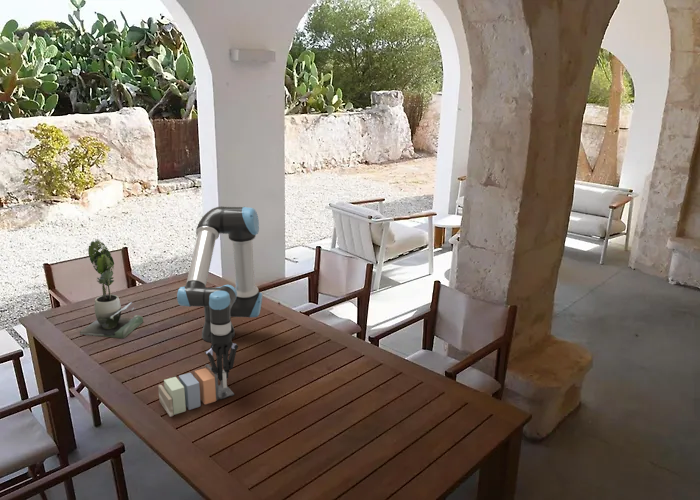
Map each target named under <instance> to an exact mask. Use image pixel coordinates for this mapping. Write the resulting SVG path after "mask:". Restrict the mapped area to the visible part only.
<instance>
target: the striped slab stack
mask: <svg viewBox="0 0 700 500" xmlns="http://www.w3.org/2000/svg"><path fill="white" fill-rule="evenodd" d="M157 387H158V388H157V389H158V398H159V399H158V400H159V403H160V405H161V406H162V407H163V409H164V411H166V413H167V414H168V417H173V416H174V414H173V404H172V398H171V397H170V395H169V394H168V393H167V391H166V390H165V389H164V385H162V384H159V385H157Z"/></svg>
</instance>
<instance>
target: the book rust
mask: <svg viewBox="0 0 700 500" xmlns="http://www.w3.org/2000/svg"><path fill="white" fill-rule="evenodd" d="M194 377H195V378H196V380H197V381H198V382H199V387H200V402H202V403H203V404H204V405H209V404H212V403H214V402H216V401H217V400H216V389H215V377H214V376H213V375H212V374H211V373H210V372H209V371H208V370H207V369H206V367H205V368H204V367H203V368H201V369H200V368H199V369H197V370H196V369H195V370H194Z"/></svg>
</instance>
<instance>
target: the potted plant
mask: <svg viewBox="0 0 700 500" xmlns="http://www.w3.org/2000/svg"><path fill="white" fill-rule="evenodd" d="M87 248H88V249H87V251H88V252H87V253H88V256H89V260H90V262H91V264H92V265H93V269H94V270H95V271H96V272H97V274H99V275H100V276H99V277H96V282H97V283H98V284H100V285H101V289H102V295H99V296H97V297H95V299H94V306H93V307H94V315H95V318H96V320H94V321H93V322H92V323H90V324H89V325H87V326H86V327H84V328H83V329H81V330H80V331H79V334H80V335H82V334H84V336H92V335H93V337H94V336H95V337H102V336H104V337H103V338H115V339H124V338H126V337H127V336H128V335H130V334H131V332H134V331H135V329H137V328H138V327H139V326H141V325H142V323H144V316H141V315H138V314H136V315H134V316H133V317H132V318H129V317H121V316H122V312H123V311H125V312H126V310H127V309H128V308H129V307H130V306H131V305H132V303H133V302H132V301H131V302H129V303H128V304H127V305H125V306H124V307H122V305H121V301H120V300H121V299H120V298H119V296H118V295H116V294H112V293H111V288H110V285H112V284H113V283H114V282H115V280H114V277H113V275H114V270H113V269H115V268H114V267H115V266H114V265H115V262H114V259H113V256H112V253H111V251H110V250H109V248H108V246H107V245H106V244H104V242H101V240H100V239H98V238H97V239H95V240H94V241H93V240H92V241H91V242H90V244H89V245H88V247H87ZM107 290H108V294H107ZM134 309H135V307H132V308H131V311H132V312H133V310H134Z"/></svg>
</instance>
